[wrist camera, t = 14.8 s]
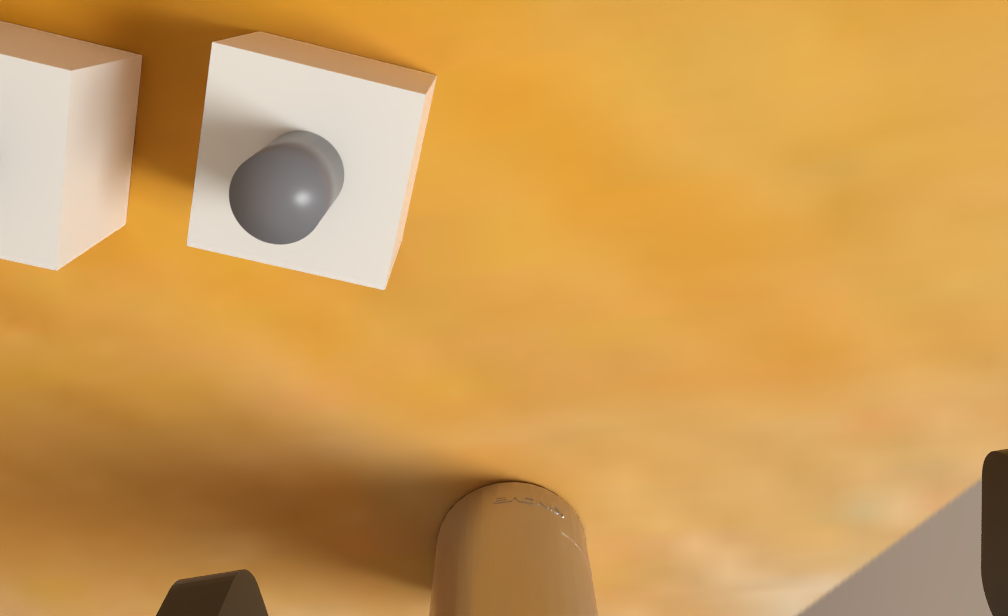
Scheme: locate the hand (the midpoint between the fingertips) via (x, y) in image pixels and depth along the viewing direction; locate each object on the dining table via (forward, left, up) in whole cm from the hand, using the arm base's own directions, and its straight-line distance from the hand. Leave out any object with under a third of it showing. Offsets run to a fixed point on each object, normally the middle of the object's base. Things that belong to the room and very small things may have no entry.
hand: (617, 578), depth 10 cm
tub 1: (-4, +9, -38) cm, 39 cm away
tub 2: (-7, +24, -38) cm, 45 cm away
